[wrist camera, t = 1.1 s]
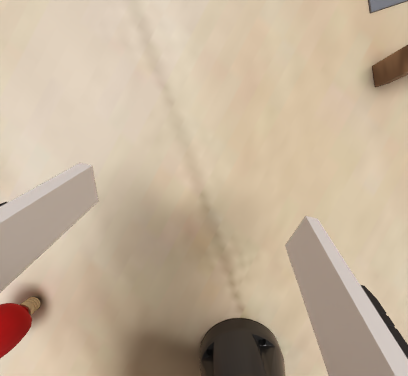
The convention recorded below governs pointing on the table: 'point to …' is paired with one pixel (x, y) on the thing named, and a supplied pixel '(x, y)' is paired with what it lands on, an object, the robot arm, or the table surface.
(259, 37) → the table surface
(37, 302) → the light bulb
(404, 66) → the bridge
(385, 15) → the table surface
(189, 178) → the table surface
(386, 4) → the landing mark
